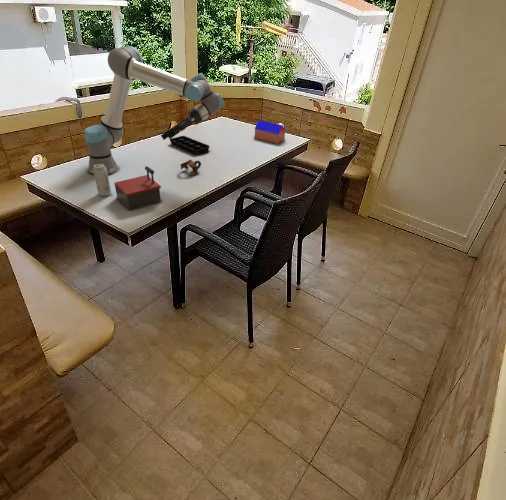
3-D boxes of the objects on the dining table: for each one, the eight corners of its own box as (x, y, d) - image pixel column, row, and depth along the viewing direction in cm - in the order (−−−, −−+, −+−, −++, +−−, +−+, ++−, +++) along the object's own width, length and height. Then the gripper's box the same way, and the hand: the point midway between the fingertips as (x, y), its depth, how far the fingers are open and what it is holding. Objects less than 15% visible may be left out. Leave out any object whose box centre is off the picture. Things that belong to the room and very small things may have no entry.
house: (277, 143, 251) (278, 127, 245) (253, 137, 260) (254, 121, 253) (285, 139, 260) (286, 123, 253) (262, 134, 268) (263, 118, 261)
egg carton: (199, 156, 223) (199, 150, 221) (163, 146, 234) (163, 140, 232) (215, 149, 235) (215, 143, 233) (180, 139, 247) (180, 134, 245)
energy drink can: (109, 197, 172) (103, 168, 163) (97, 196, 172) (90, 168, 163) (112, 191, 177) (107, 163, 168) (100, 191, 176) (94, 163, 168)
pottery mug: (187, 177, 196) (181, 164, 193) (183, 178, 204) (176, 165, 202) (205, 169, 200) (199, 155, 197) (200, 170, 208) (194, 157, 206)
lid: (147, 177, 177) (145, 162, 172) (161, 188, 168) (159, 173, 163) (114, 184, 168) (111, 169, 163) (127, 196, 159) (124, 181, 154)
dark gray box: (147, 190, 181) (145, 177, 176) (160, 201, 171) (159, 188, 167) (117, 197, 172) (114, 184, 168) (129, 210, 163) (127, 196, 159)
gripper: (209, 119, 172) (175, 143, 168) (194, 123, 194) (164, 144, 190) (201, 105, 169) (166, 129, 165) (187, 110, 191) (155, 131, 186)
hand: (165, 137), depth 177 cm, fingers open, 13 cm apart
